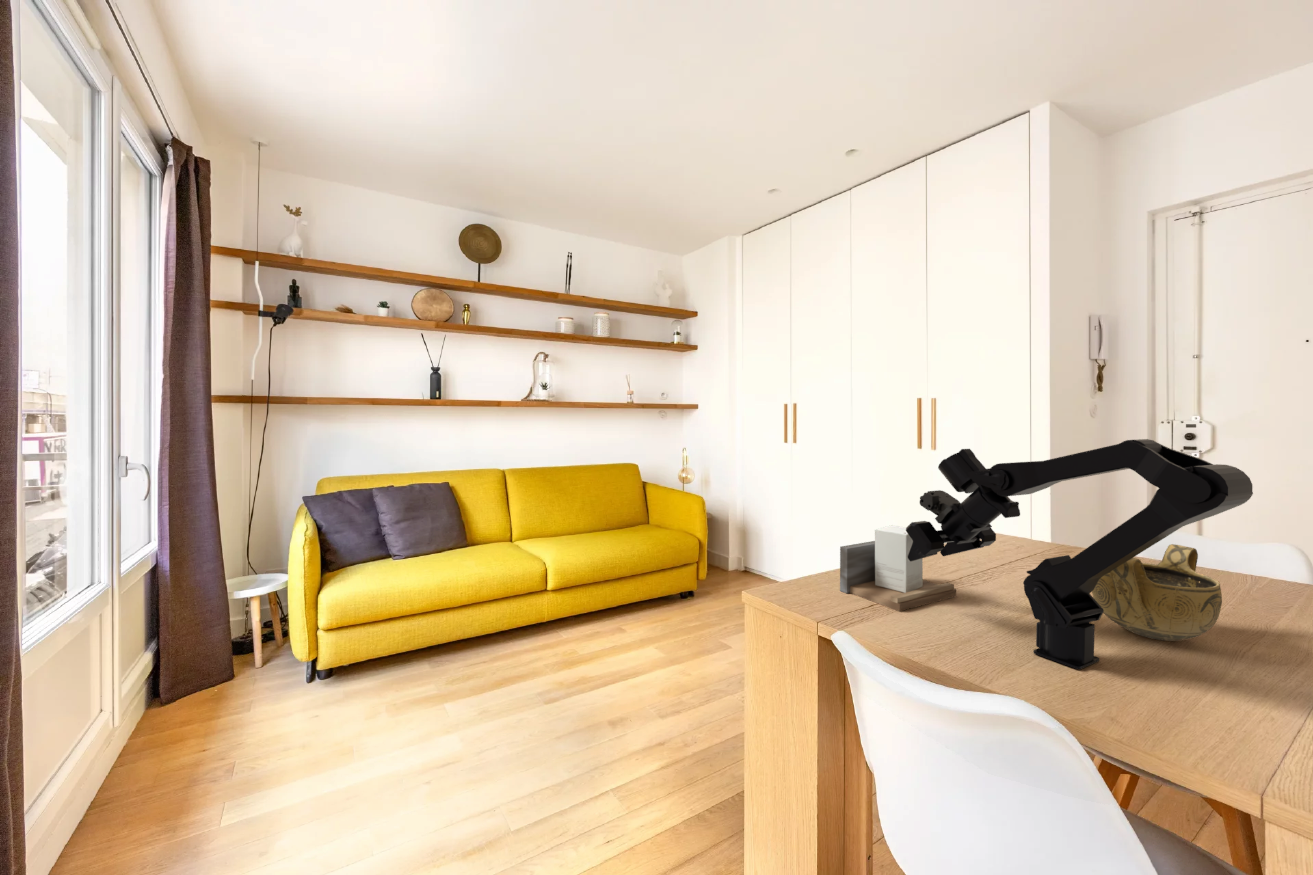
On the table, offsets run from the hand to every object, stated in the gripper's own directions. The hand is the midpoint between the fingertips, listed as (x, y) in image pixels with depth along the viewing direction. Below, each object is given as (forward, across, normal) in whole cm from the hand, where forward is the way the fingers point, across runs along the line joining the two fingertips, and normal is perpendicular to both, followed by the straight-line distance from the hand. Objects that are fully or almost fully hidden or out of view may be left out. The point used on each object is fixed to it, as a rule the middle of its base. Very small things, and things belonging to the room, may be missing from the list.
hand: (925, 556), depth 108 cm
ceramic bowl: (-11, -24, +26) cm, 37 cm away
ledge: (+12, 0, +2) cm, 12 cm away
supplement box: (+11, 0, +1) cm, 11 cm away
